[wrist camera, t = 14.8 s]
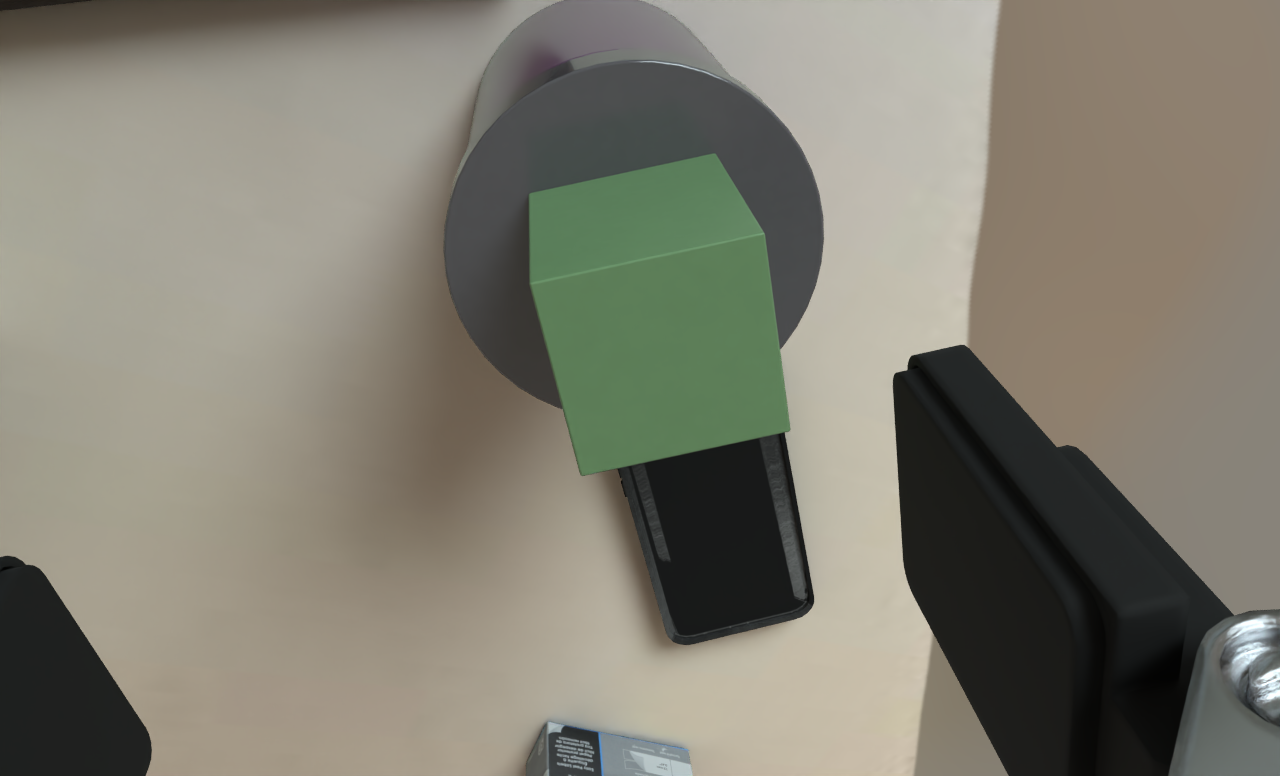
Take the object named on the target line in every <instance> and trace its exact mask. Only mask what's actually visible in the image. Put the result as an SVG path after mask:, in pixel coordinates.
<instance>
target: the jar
mask: <svg viewBox="0 0 1280 776" xmlns="http://www.w3.org/2000/svg"><path fill="white" fill-rule="evenodd" d="M713 153H714V154H716V155H717V157H718V158H719V160H720V162H721V163H722V165H723V167H724V168H725V170H726V171H727V173H728V175H729V176H730V178H731V180H732V181H733V183H734V185H735V186H736V188H737V189H738V191H739V193H740V194H741V196H742V198H743V199H744V201H745V202H746V204H747V206H748V207H749V209H750V211H751V212H752V214H753V216H754V217H755V219H756V220H757V222H758V224H759V225H760V227H761V229H762V230H763V232H764V233H765V239H766V247H767V254H768V262H769V270H770V277H771V285H772V293H773V300H774V308H775V316H776V323H777V331H778V338H779V346H780V349H781V348H782V347H783V346H784V344H785V343H786V341H787V340H788V339H789V337H790V336H791V334H792V333H793V332H794V330H795V329H796V327H797V326H798V324H799V322H800V320H801V318H802V316H803V314H804V312H805V311H806V309H807V307H808V304H809V302H810V299H811V296H812V294H813V291H814V289H815V286H816V283H817V279H818V274H819V270H820V266H821V262H822V252H823V243H824V228H823V212H822V206H821V200H820V195H819V191H818V188H817V184H816V181H815V178H814V175H813V172H812V169H811V167H810V165H809V163H808V161H807V159H806V157H805V155H804V153H803V151H802V149H801V147H800V146H799V144H798V143H797V141H796V140H795V138H794V137H793V135H792V134H791V132H790V131H789V129H788V128H787V127H786V126H785V125H784V124H783V123H782V121H781V120H780V119H779V118H778V117H777V116H776V115H775V114H774V113H773V112H772V110H771V109H770V108H769V107H768V106H767V105H766V104H765V103H764V102H763V101H762V100H761V99H760V97H758V96H757V95H756V94H755V93H754V92H752V91H751V90H750V89H749V88H748V87H746V86H745V85H744V84H743V83H741V82H740V81H738V80H737V79H735V78H734V77H732V76H730V74H729V73H728V72H727V71H726V70H725V69H724V68H723V66H722V65H721V64H720V63H719V62H718V61H717V60H716V59H715V57H714V56H713V55H712V54H711V53H710V52H709V51H708V49H707V48H706V47H705V46H704V45H703V44H702V43H701V42H700V40H699V39H698V38H697V37H696V36H695V35H694V34H693V33H692V32H691V31H690V30H689V29H688V28H687V27H686V26H685V25H684V24H682V23H681V22H680V21H679V20H678V19H676V18H675V17H673V16H672V15H670V14H668V13H667V12H665V11H664V10H662V9H660V8H658V7H656V6H653V5H651V4H649V3H647V2H644V1H640V0H564V1H560V2H557V3H555V4H553V5H551V6H548V7H546V8H544V9H542V10H540V11H539V12H537V13H535V14H534V15H532V16H531V17H529V18H528V19H526V20H525V21H524V22H523V23H521V24H520V25H519V26H518V27H517V28H515V29H514V30H513V31H512V32H511V33H510V35H509V36H508V37H507V38H506V39H505V40H504V41H503V42H502V43H501V45H500V46H499V48H498V49H497V51H496V52H495V54H494V55H493V57H492V58H491V60H490V62H489V64H488V66H487V68H486V70H485V72H484V74H483V77H482V80H481V83H480V86H479V89H478V94H477V99H476V104H475V109H474V115H473V120H472V125H471V131H470V136H469V141H468V146H467V150H466V152H465V154H464V156H463V158H462V160H461V162H460V165H459V168H458V171H457V174H456V177H455V180H454V183H453V186H452V191H451V196H450V201H449V206H448V211H447V216H446V222H445V229H444V261H445V271H446V277H447V281H448V286H449V290H450V294H451V298H452V300H453V303H454V305H455V308H456V310H457V313H458V316H459V318H460V320H461V322H462V324H463V325H464V327H465V329H466V331H467V332H468V334H469V336H470V338H471V339H472V341H473V342H474V343H475V345H476V346H477V347H478V349H479V350H480V351H481V353H482V354H483V355H484V357H485V358H486V359H487V360H488V361H489V362H490V363H491V364H492V365H493V366H494V367H495V368H496V369H497V370H498V371H499V372H500V373H501V374H502V375H504V376H505V377H506V378H508V379H509V380H510V381H511V382H513V383H514V384H515V385H516V386H518V387H519V388H521V389H522V390H524V391H526V392H527V393H529V394H531V395H532V396H534V397H536V398H537V399H539V400H542V401H544V402H546V403H548V404H551V405H553V406H555V407H557V408H560V409H563V408H562V405H561V401H560V397H559V393H558V390H557V386H556V382H555V378H554V375H553V371H552V367H551V363H550V360H549V356H548V352H547V348H546V345H545V341H544V337H543V334H542V330H541V326H540V322H539V319H538V315H537V311H536V307H535V304H534V300H533V296H532V292H531V289H530V284H529V194H530V193H534V192H538V191H543V190H547V189H552V188H557V187H561V186H566V185H570V184H575V183H580V182H584V181H589V180H594V179H598V178H603V177H607V176H612V175H617V174H621V173H626V172H630V171H635V170H640V169H644V168H649V167H653V166H658V165H663V164H667V163H672V162H677V161H681V160H686V159H690V158H695V157H700V156H704V155H709V154H713Z"/></svg>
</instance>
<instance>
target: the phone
mask: <svg viewBox="0 0 1280 776" xmlns="http://www.w3.org/2000/svg"><path fill="white" fill-rule="evenodd" d="M617 469H618V472H619V475H620V478H622V481H621V484H622V487H623V491H624V494H625V497H627V498H628V502H629V505H630V509H631V512H632V516H633V519H634V522H635V526H636V529H637V533H638V536H639V540H640V543H641V547H642V550H643V554H644V557H645V561H646V564H647V568H648V571H649V574H650V578H651V581H652V585H653V588H654V592H655V595H656V599H657V602H658V606H659V609H660V613H661V616H662V620H663V623H664V627H665V630H666V633H667V635H668V637H669V639H671V640H672V641H673V642H675V643H677V644H682V645H690V644H696V643H700V642H704V641H708V640H712V639H716V638H720V637H724V636H728V635H732V634H736V633H741V632H745V631H749V630H753V629H757V628H761V627H765V626H769V625H773V624H778V623H782V622H786V621H790V620H794V619H797V618H800V617H802V616H804V615H805V614H807V613H808V612H809V611H810V609H811V608H812V606H813V604H814V594H813V589H812V583H811V577H810V572H809V566H808V561H807V555H806V550H805V544H804V538H803V533H802V527H801V522H800V516H799V510H798V505H797V499H796V494H795V488H794V483H793V477H792V471H791V466H790V460H789V455H788V449H787V443H786V438H785V432H784V433H779V434H775V435H770V436H765V437H761V438H756V439H752V440H747V441H742V442H738V443H733V444H728V445H724V446H719V447H715V448H710V449H705V450H701V451H696V452H691V453H687V454H682V455H678V456H673V457H668V458H664V459H659V460H654V461H650V462H645V463H640V464H636V465H631V466H627V467H622V468H617Z"/></svg>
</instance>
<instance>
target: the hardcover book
mask: <svg viewBox="0 0 1280 776" xmlns="http://www.w3.org/2000/svg"><path fill="white" fill-rule="evenodd" d="M83 1H92V0H0V11H3V10H12V9H21V8H29V7H38V6H47V5H56V4H65V3H74V2H83Z"/></svg>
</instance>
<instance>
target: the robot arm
mask: <svg viewBox="0 0 1280 776" xmlns="http://www.w3.org/2000/svg"><path fill="white" fill-rule="evenodd" d="M893 395H894V412H895V429H896V446H897V463H898V480H899V497H900V514H901V531H902V548H903V562H904V569H905V574H906V577H907V581H908V584H909V586H910V589H911V591H912V594H913V596H914V598H915V600H916V601H917V603H918V605H919V607H920V609H921V611H922V613H923V615H924V617H925V618H926V620H927V622H928V624H929V626H930V628H931V630H932V632H933V634H934V635H935V637H936V639H937V641H938V643H939V645H940V647H941V649H942V651H943V652H944V654H945V656H946V658H947V660H948V662H949V664H950V666H951V667H952V670H953V671H954V673H955V675H956V677H957V679H958V681H959V683H960V685H961V686H962V688H963V690H964V692H965V694H966V696H967V698H968V700H969V702H970V704H971V705H972V707H973V709H974V711H975V713H976V715H977V717H978V718H979V721H980V722H981V724H982V726H983V728H984V730H985V732H986V734H987V736H988V737H989V739H990V741H991V743H992V745H993V747H994V749H995V750H996V753H997V755H998V756H999V758H1000V760H1001V762H1002V764H1003V766H1004V768H1005V770H1006V771H1007V773H1008V775H1009V776H1280V609H1278V610H1257V611H1248V612H1245V613H1242V614H1238V615H1235V616H1234V615H1233V614H1232V613H1231V611H1230V610H1229V609H1228V608H1227V607H1226V606H1225V605H1224V604H1223V603H1222V602H1221V601H1220V599H1219V598H1218V597H1217V596H1216V595H1215V594H1214V593H1213V592H1212V591H1211V590H1210V589H1209V588H1208V587H1207V585H1206V584H1205V583H1204V582H1203V581H1202V580H1201V579H1200V578H1199V577H1198V576H1197V575H1196V574H1195V572H1194V571H1193V570H1192V569H1191V568H1190V567H1189V566H1188V565H1187V564H1186V563H1185V562H1184V560H1183V559H1182V558H1181V557H1180V556H1179V555H1178V554H1177V553H1176V552H1175V551H1174V550H1173V549H1172V548H1171V546H1169V544H1168V543H1167V542H1166V541H1165V540H1164V539H1163V538H1162V537H1161V536H1160V535H1159V534H1158V532H1157V531H1156V530H1155V529H1154V528H1153V527H1152V526H1151V525H1150V524H1149V523H1148V522H1147V520H1146V519H1145V518H1144V517H1143V516H1142V515H1141V514H1140V513H1139V512H1138V511H1137V510H1136V509H1135V507H1134V506H1133V505H1132V504H1131V503H1130V502H1129V501H1128V500H1127V499H1126V498H1125V497H1124V496H1123V494H1122V493H1121V492H1120V491H1119V490H1118V489H1117V488H1116V487H1115V486H1114V485H1113V484H1112V483H1111V481H1110V480H1109V479H1108V478H1107V477H1106V476H1105V475H1104V474H1103V473H1102V472H1101V471H1100V470H1099V468H1097V467H1096V465H1095V464H1094V463H1093V462H1092V461H1091V460H1090V459H1089V458H1088V457H1087V456H1086V455H1085V454H1084V453H1083V452H1082V451H1080V450H1079V449H1078V448H1077V447H1073V446H1069V445H1066V446H1062V447H1056V446H1055V445H1054V444H1053V442H1052V441H1051V440H1050V439H1049V438H1048V437H1047V436H1046V435H1045V433H1043V431H1042V430H1041V429H1040V428H1039V427H1038V426H1037V424H1036V423H1035V422H1034V421H1033V420H1032V419H1031V418H1030V417H1029V415H1028V414H1027V413H1026V412H1025V411H1024V410H1023V409H1022V408H1021V406H1020V405H1019V404H1018V403H1017V402H1016V401H1015V400H1014V398H1013V397H1012V396H1011V395H1010V394H1009V393H1008V392H1007V391H1006V389H1005V388H1004V387H1003V386H1002V385H1001V384H1000V383H999V382H998V380H997V379H996V378H995V377H994V376H993V375H992V374H991V373H990V371H989V370H988V369H987V368H986V367H985V366H984V365H983V364H982V362H981V361H980V360H979V359H978V358H977V357H976V356H975V355H974V353H973V352H972V351H971V350H970V349H969V348H968V347H966V346H965V345H958V346H953V347H949V348H944V349H940V350H935V351H931V352H926V353H922V354H917V355H913V356H911V357H910V359H909V362H908V370H907V371H902V372H898V373H895V375H894V378H893ZM151 752H152V749H151V740H150V737H149V733H148V731H147V729H146V727H145V726H144V724H143V723H142V721H141V720H140V718H139V717H138V715H137V714H136V712H135V711H134V709H133V708H132V706H131V705H130V703H129V702H128V700H127V699H126V697H125V696H124V694H123V693H122V691H121V690H120V688H119V687H118V685H117V684H116V682H115V680H114V679H113V677H112V676H111V674H110V673H109V671H108V670H107V668H106V667H105V665H104V664H103V662H102V661H101V659H100V658H99V656H98V655H97V653H96V652H95V650H94V649H93V647H92V646H91V644H90V643H89V641H88V640H87V638H86V637H85V635H84V633H83V632H82V630H81V629H80V627H79V626H78V624H77V623H76V621H75V620H74V618H73V617H72V615H71V614H70V612H69V611H68V609H67V608H66V606H65V605H64V603H63V602H62V600H61V599H60V597H59V596H58V594H57V593H56V591H55V590H54V588H53V586H52V585H51V583H50V582H49V580H48V579H47V577H46V576H45V574H44V573H43V572H42V571H41V570H40V569H39V568H37V567H35V566H33V565H25V564H24V562H23V561H21V560H19V559H18V558H16V557H12V556H4V557H0V776H146V773H147V770H148V768H149V765H150V761H151Z"/></svg>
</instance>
